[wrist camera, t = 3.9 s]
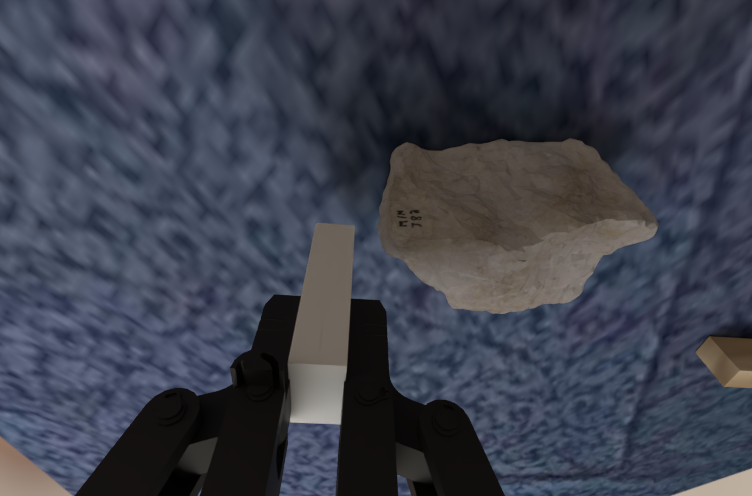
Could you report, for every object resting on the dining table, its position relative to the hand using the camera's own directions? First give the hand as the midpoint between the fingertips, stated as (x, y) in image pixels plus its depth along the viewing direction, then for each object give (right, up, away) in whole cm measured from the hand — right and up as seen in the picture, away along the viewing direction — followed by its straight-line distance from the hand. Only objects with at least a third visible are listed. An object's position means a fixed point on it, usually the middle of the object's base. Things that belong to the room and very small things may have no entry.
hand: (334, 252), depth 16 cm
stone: (+7, +3, +3) cm, 8 cm away
